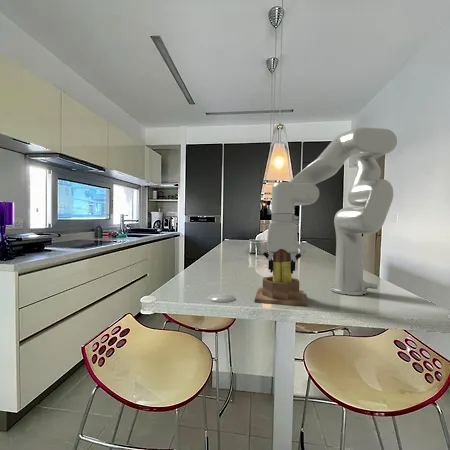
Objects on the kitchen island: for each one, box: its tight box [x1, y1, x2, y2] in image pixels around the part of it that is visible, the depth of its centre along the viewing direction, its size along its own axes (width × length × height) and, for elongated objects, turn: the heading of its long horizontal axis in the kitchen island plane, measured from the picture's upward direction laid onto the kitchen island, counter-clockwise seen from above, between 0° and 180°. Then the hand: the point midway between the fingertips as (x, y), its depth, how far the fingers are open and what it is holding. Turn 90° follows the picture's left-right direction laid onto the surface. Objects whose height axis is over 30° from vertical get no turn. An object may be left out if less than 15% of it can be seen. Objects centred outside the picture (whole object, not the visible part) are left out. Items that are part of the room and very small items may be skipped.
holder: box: [254, 275, 308, 307], centre depth 97 cm, size 16×16×6 cm
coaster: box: [207, 293, 236, 304], centre depth 94 cm, size 9×9×1 cm
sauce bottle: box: [272, 249, 293, 283], centre depth 96 cm, size 7×6×20 cm
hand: (281, 271), depth 97 cm, fingers closed on sauce bottle, 6 cm apart
